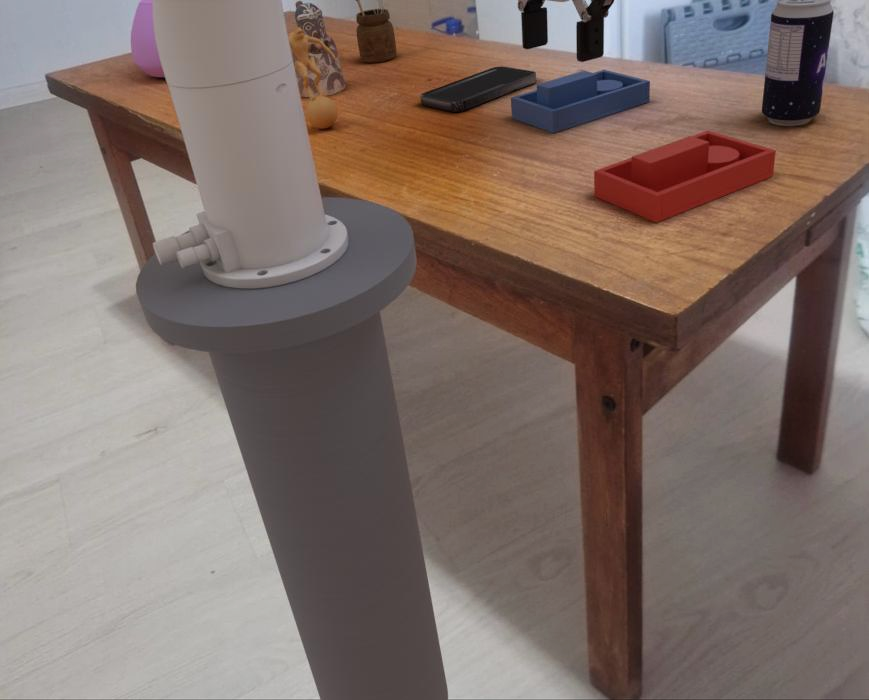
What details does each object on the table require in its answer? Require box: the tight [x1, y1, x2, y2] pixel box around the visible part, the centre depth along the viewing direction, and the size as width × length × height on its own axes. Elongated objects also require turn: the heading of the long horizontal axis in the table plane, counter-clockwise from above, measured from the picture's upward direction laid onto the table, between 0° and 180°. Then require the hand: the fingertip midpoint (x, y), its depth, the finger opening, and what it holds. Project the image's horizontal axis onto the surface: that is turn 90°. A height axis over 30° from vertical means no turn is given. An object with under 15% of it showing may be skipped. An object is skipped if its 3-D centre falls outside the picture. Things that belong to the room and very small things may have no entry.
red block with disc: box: [631, 135, 740, 192], centre depth 75 cm, size 11×4×4 cm, turn 120°
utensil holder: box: [355, 0, 397, 64], centre depth 128 cm, size 6×6×12 cm
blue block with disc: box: [536, 70, 623, 109], centre depth 96 cm, size 11×4×4 cm, turn 120°
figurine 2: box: [288, 27, 339, 130], centre depth 101 cm, size 8×6×12 cm
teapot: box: [130, 0, 165, 78], centre depth 138 cm, size 22×22×14 cm
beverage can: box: [761, 0, 835, 127], centre depth 84 cm, size 6×6×12 cm
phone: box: [419, 65, 537, 113], centre depth 108 cm, size 8×1×15 cm
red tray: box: [593, 130, 777, 223], centre depth 75 cm, size 14×8×2 cm, turn 120°
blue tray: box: [510, 69, 651, 134], centre depth 97 cm, size 14×8×2 cm, turn 120°
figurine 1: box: [291, 0, 346, 98], centre depth 116 cm, size 7×7×12 cm
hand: (561, 52), depth 90 cm, fingers open, 9 cm apart
